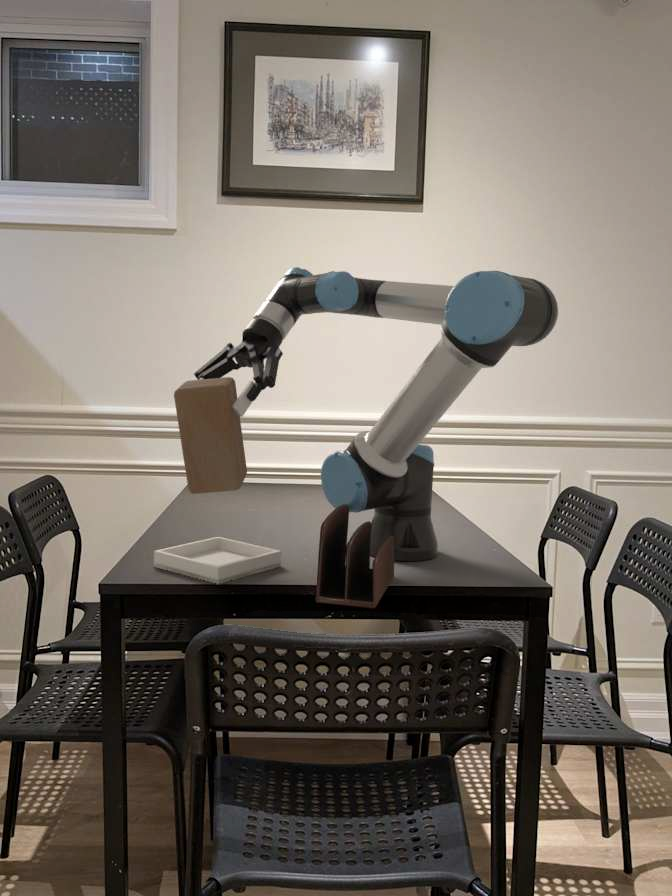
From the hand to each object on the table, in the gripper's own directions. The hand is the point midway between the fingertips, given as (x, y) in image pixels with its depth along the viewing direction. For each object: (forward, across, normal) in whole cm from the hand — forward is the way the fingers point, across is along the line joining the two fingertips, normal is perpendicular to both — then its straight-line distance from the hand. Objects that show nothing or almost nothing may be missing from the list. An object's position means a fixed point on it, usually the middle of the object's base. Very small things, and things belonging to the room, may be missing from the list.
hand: (211, 409), depth 149 cm
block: (+9, 0, -12) cm, 15 cm away
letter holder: (+17, -31, -25) cm, 43 cm away
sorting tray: (+22, -4, -19) cm, 29 cm away
